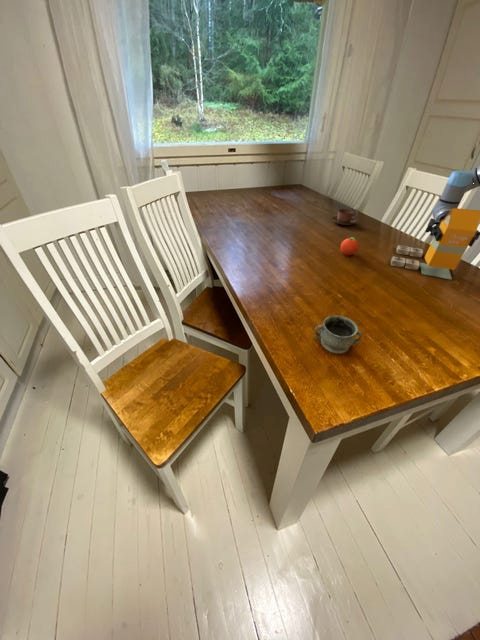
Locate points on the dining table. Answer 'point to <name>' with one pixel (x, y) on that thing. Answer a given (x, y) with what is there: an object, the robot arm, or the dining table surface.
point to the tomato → (349, 246)
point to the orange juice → (453, 238)
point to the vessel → (338, 334)
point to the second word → (424, 267)
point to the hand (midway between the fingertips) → (455, 240)
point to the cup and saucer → (345, 217)
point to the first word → (409, 251)
